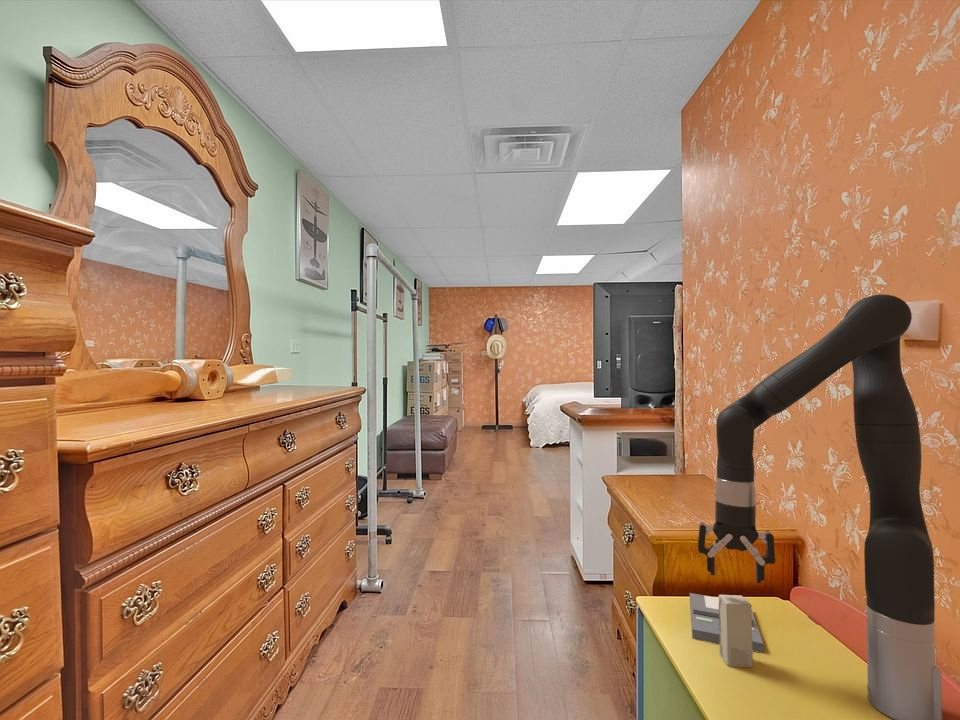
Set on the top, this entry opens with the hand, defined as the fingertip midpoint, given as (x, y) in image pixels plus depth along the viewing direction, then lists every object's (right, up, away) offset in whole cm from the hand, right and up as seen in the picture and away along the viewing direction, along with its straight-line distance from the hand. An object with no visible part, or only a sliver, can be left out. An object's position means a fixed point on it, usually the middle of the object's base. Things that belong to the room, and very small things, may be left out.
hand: (734, 577), depth 99 cm
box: (0, -17, -1) cm, 17 cm away
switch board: (+5, -18, +14) cm, 23 cm away
